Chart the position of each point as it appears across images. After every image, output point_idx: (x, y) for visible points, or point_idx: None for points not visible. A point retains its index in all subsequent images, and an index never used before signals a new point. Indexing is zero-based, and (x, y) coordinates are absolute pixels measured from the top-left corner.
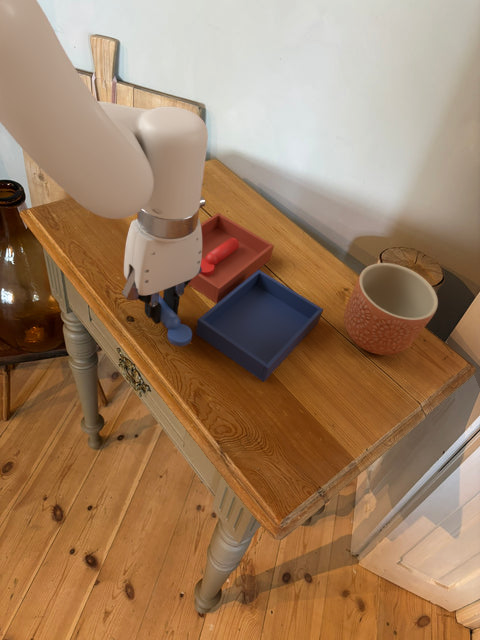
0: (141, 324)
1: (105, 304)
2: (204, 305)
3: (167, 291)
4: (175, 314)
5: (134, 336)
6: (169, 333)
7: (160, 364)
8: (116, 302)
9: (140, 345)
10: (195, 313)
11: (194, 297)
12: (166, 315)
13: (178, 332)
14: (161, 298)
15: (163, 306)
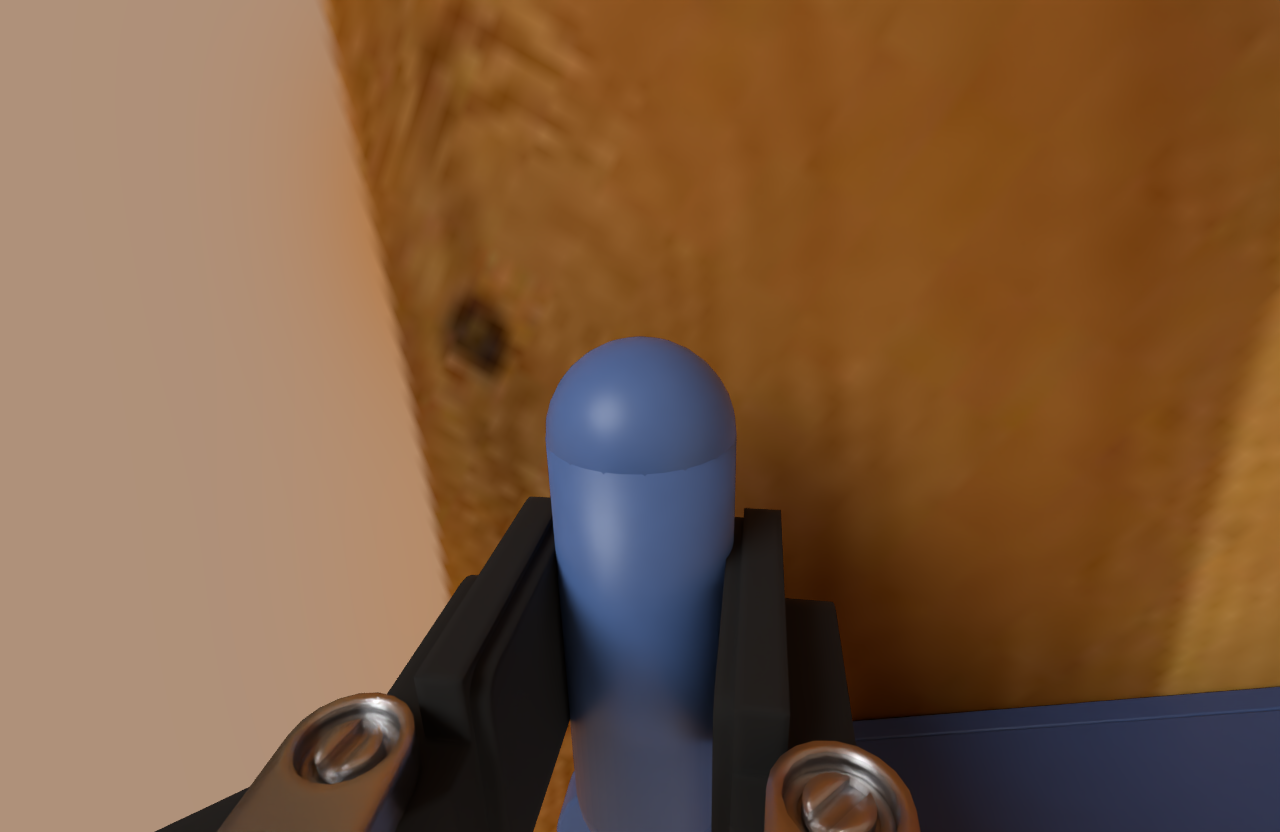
0: (534, 432)
1: (333, 46)
2: (1170, 548)
3: (714, 785)
4: (694, 814)
5: (439, 499)
6: (573, 820)
7: None
8: (436, 72)
9: (447, 581)
10: (1012, 574)
11: (1180, 415)
12: (600, 791)
13: None
14: (685, 598)
15: (629, 713)
